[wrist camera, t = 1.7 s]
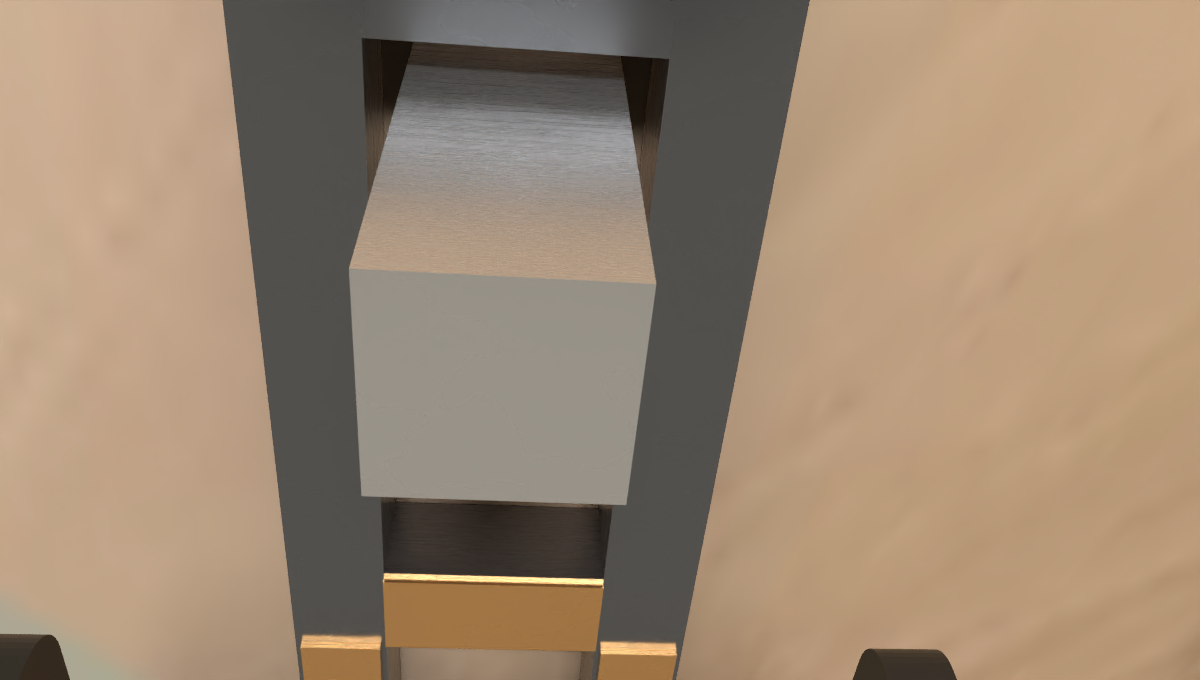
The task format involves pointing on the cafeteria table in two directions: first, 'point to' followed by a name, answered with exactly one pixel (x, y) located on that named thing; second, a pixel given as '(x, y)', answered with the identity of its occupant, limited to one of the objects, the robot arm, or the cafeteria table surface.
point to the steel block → (503, 282)
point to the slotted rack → (674, 356)
